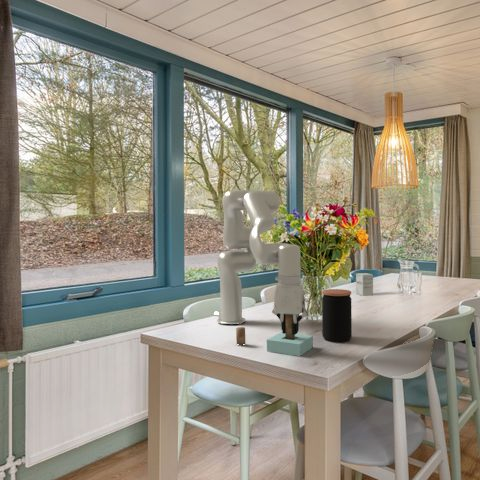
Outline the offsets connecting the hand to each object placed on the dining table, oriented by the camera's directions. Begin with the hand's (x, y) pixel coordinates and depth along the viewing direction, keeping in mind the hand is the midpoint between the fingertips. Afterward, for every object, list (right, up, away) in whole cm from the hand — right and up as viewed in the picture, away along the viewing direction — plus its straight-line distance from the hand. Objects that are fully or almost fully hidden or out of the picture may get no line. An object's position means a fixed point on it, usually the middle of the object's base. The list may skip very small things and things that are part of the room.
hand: (290, 332), depth 151 cm
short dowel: (-17, -6, +7) cm, 19 cm away
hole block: (0, -6, 0) cm, 6 cm away
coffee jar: (+19, -5, +12) cm, 23 cm away
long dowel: (0, -4, 0) cm, 4 cm away
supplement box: (+57, -1, +110) cm, 124 cm away
